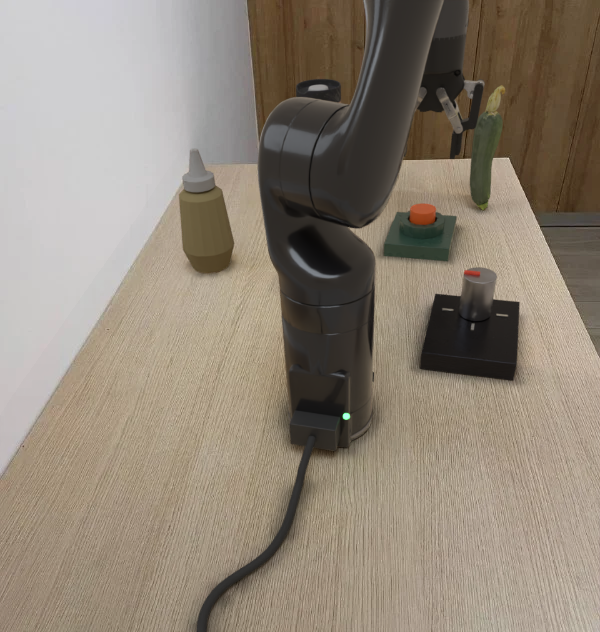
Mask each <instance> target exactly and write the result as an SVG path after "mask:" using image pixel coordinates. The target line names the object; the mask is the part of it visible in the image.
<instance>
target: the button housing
mask: <svg viewBox="0 0 600 632" xmlns="http://www.w3.org/2000/svg"><path fill="white" fill-rule="evenodd" d="M457 219H458V217H457V215H449V214H442V213H441V212H438V211H436V216H435V222H434V223H432V224H428V225H418V224H414V223H411V222H410V210H408V211H405V212H404V211H396V213H395V215H394V217H393V220H392V223H391V225H390V228H389V230H388V234H387V235H386V238H385V241H384V242H383V257H392V258H403V259H415V260H425V261H436V262H437V261H439V262H449V259H450V255H451V249H452V246H453V242H454V238H455V237H454V236H455V231H456V227H457Z"/></svg>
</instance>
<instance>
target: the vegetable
mask: <svg viewBox="0 0 600 632" xmlns="http://www.w3.org/2000/svg"><path fill="white" fill-rule="evenodd" d="M505 94H506V88H505V86H504V85H503V84H501V85H499V86H497V88H496V89H494V90H493V92H491V94H490V95H489V97H488V100H487V103H486V107H485V110H484V111H483V112H482V113H481V114H480V115H479V116H478V121H477V125H476V127H475V128H474V129H473V137H472V145H471V156H470V169H469V171H470V172H469V191H470V193H469V194H470V198H471V201H472V202H473V203H474V204H475V206H477V207H478V208H479V209H480V210H482V211H485V209H487V208H488V206H489V201H490V199H491V196H492V195H491V194H492V193H491V192H492V191H491V189H492V187H491V186H492V167H493V161H494V158H495V154H496V151H497V149H498V146H499V142H500V140H501V136H502V132H503V127H504V126H503V124H504V122H503V121H504V120H503V117H502V115H501V114H500V113H499V111H497V110H498V109H499V107H500V104H501V100H502V98H501V97H502V95H505Z"/></svg>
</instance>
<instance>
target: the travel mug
mask: <svg viewBox="0 0 600 632" xmlns="http://www.w3.org/2000/svg"><path fill="white" fill-rule="evenodd" d="M295 97H307V98H314V99H321V100H326V101H332V102H338V103H342V85H341V82H340V81H338V80H335V79H330V78H314V79H313V78H312V79H307V80H302V81H300V82H299V83H297V84H296V85H295Z"/></svg>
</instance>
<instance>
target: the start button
mask: <svg viewBox="0 0 600 632" xmlns="http://www.w3.org/2000/svg"><path fill="white" fill-rule="evenodd" d="M409 211H410V222H411V223H414V224H418V225H428V224H432V223H434V222H435V216H436V212H437V207H436V206H435V205H433V204H430V203H422V202H421V203H415V204H413V205H412V206H410V208H409Z"/></svg>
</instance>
